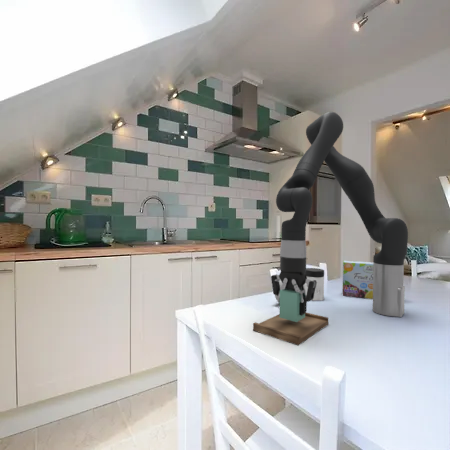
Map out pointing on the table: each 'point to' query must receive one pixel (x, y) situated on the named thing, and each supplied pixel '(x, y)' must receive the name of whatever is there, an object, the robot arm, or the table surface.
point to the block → (290, 305)
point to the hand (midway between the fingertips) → (292, 312)
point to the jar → (319, 277)
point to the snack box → (358, 279)
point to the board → (292, 327)
